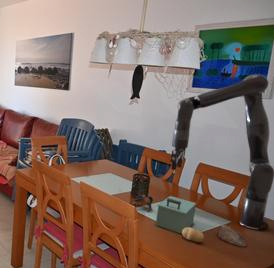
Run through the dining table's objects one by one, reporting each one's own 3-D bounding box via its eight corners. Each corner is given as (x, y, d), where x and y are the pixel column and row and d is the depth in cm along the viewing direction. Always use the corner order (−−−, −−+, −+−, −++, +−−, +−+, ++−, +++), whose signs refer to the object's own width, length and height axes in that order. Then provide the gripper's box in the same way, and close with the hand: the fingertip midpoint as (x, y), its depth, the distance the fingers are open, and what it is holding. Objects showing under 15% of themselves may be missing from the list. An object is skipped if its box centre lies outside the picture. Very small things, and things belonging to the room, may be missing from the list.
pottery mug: (146, 214, 173) (139, 199, 174) (133, 215, 181) (127, 201, 182) (160, 205, 179) (153, 190, 180) (147, 206, 187) (141, 192, 188)
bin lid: (185, 214, 150) (187, 205, 149) (157, 206, 158) (159, 197, 157) (196, 204, 163) (197, 195, 162) (169, 197, 171) (171, 188, 170)
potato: (204, 241, 146) (206, 230, 146) (201, 246, 143) (203, 234, 142) (183, 234, 152) (185, 224, 151) (179, 238, 148) (181, 227, 147)
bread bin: (182, 234, 152) (186, 214, 150) (155, 225, 160) (158, 205, 158) (192, 223, 165) (196, 204, 163) (167, 215, 173) (169, 197, 171)
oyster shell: (223, 243, 146) (225, 233, 145) (214, 231, 158) (216, 221, 157) (247, 247, 144) (249, 237, 143) (236, 234, 156) (238, 224, 155)
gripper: (183, 140, 164) (179, 172, 167) (192, 137, 174) (188, 167, 177) (168, 138, 169) (164, 168, 172) (177, 135, 179) (173, 164, 182)
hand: (176, 168), depth 175 cm, fingers open, 8 cm apart
